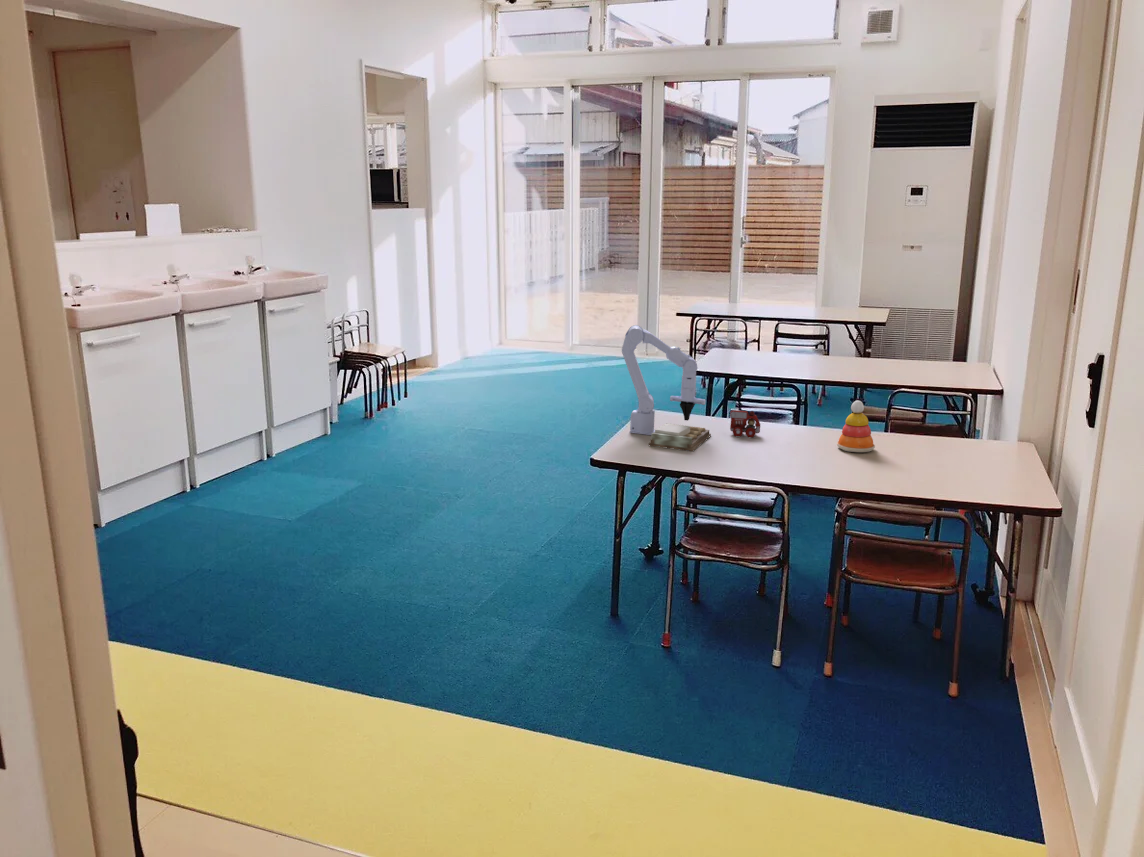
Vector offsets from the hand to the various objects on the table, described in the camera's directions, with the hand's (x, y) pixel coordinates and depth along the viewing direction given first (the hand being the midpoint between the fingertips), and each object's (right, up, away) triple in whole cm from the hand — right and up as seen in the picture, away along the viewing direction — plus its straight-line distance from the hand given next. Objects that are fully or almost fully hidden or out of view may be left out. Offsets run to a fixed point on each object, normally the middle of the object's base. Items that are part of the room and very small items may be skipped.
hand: (686, 419), depth 366 cm
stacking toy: (+63, -12, -18) cm, 67 cm away
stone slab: (-7, -6, -13) cm, 16 cm away
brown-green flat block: (-4, -8, -9) cm, 13 cm away
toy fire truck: (+24, -7, 0) cm, 24 cm away
